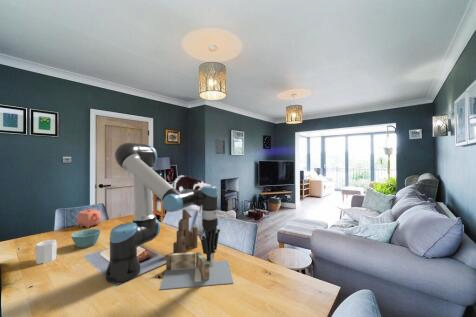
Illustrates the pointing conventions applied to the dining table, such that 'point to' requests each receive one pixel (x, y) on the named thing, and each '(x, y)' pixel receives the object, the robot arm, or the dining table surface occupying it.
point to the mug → (45, 251)
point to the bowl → (86, 237)
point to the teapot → (89, 218)
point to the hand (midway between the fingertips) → (210, 266)
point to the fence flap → (203, 266)
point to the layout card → (197, 276)
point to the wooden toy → (185, 234)
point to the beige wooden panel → (181, 260)
